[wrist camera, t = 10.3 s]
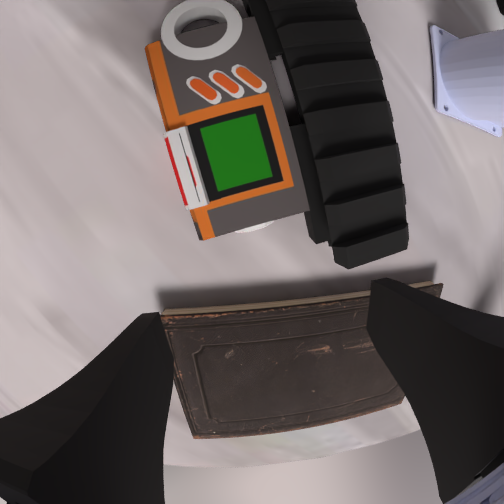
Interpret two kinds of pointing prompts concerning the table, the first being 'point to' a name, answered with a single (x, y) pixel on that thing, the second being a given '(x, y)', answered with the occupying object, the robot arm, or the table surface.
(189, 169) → the electronic device
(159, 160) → the table surface
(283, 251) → the table surface
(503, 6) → the battery
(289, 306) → the hardcover book
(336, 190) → the rail mount
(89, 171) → the table surface
